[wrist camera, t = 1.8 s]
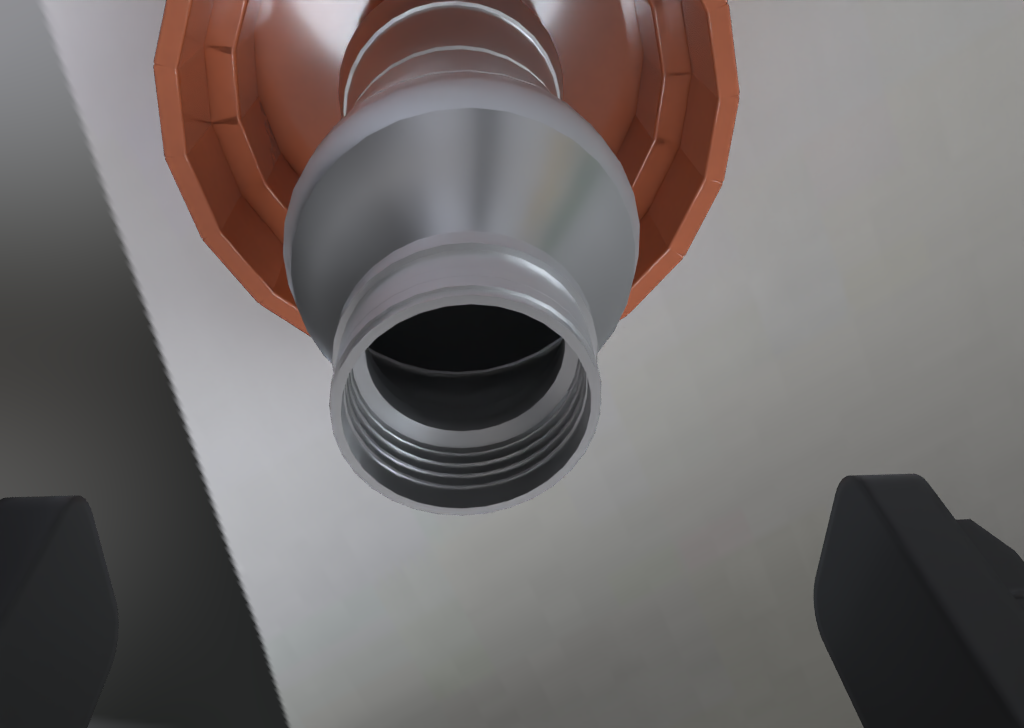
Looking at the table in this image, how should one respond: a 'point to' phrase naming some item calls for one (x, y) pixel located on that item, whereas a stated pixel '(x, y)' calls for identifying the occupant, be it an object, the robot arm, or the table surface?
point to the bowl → (316, 110)
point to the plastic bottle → (460, 257)
